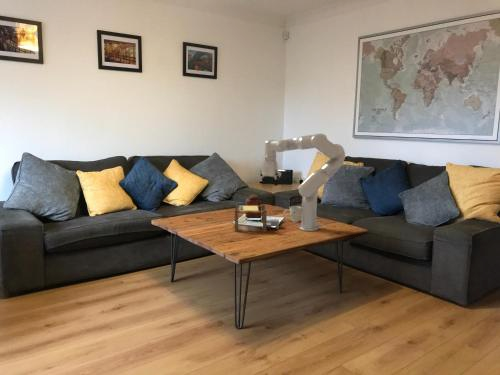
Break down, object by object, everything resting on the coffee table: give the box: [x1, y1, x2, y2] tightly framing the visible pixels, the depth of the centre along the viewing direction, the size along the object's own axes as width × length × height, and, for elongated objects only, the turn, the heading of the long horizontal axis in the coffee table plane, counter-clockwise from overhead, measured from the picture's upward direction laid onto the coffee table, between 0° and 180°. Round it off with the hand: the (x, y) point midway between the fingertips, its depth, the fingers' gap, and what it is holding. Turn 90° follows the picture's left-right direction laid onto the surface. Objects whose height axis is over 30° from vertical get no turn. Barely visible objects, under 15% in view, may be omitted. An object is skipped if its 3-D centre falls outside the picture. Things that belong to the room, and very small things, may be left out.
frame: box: [234, 204, 268, 233], centre depth 273 cm, size 20×20×14 cm
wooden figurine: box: [244, 194, 262, 219], centre depth 294 cm, size 12×6×18 cm, turn 81°
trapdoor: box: [239, 204, 259, 211], centre depth 272 cm, size 12×14×2 cm
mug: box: [283, 205, 302, 223], centre depth 292 cm, size 8×13×10 cm, turn 89°
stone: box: [270, 218, 280, 230], centre depth 275 cm, size 5×5×5 cm
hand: (270, 184), depth 278 cm, fingers open, 9 cm apart
